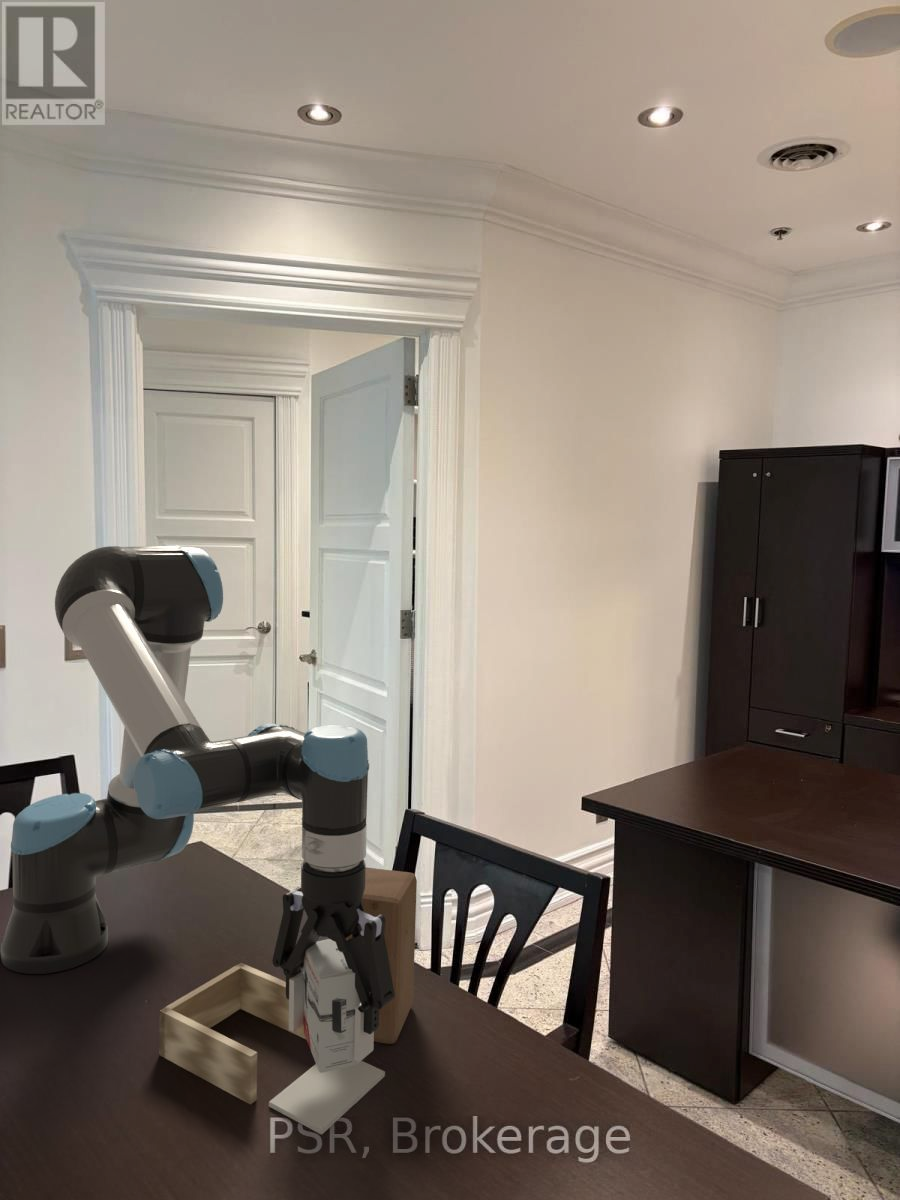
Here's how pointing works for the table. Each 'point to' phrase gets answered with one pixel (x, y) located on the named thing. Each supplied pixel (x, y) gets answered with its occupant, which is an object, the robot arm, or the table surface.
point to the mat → (325, 1094)
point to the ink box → (329, 1006)
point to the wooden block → (394, 941)
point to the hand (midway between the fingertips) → (330, 1039)
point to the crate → (210, 1051)
